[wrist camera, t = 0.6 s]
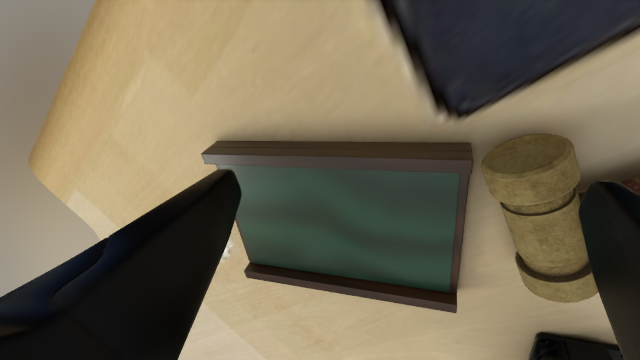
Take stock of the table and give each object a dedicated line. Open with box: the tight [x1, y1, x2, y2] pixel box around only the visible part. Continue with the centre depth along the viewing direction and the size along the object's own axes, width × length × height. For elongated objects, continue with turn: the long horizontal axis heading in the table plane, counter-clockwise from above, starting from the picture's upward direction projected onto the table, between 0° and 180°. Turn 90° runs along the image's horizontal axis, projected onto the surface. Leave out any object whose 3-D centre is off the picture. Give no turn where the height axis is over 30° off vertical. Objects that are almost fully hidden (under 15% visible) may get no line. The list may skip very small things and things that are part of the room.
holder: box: [201, 141, 473, 313], centre depth 28 cm, size 14×20×2 cm
